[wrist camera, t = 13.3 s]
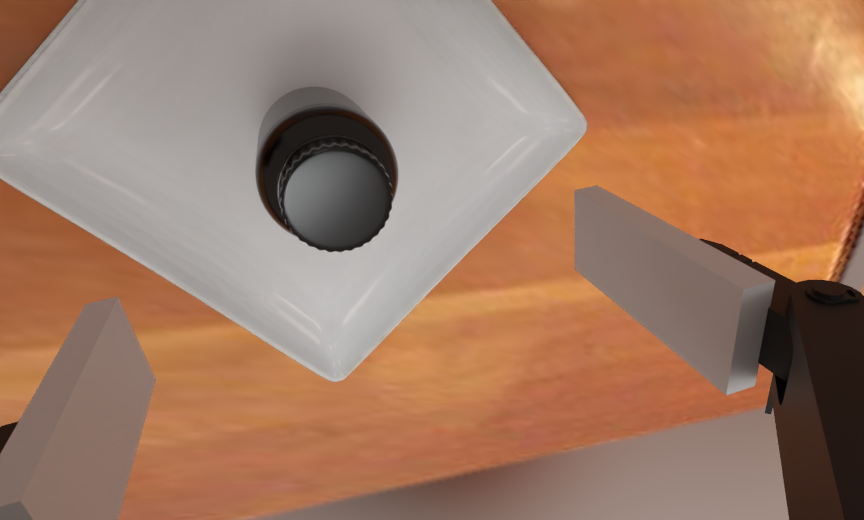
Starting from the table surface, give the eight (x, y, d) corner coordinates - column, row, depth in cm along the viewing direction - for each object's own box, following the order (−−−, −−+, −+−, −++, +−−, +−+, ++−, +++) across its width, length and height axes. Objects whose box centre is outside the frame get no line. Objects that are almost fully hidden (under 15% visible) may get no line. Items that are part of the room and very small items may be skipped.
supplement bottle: (392, 128, 34) (449, 182, 24) (331, 214, 35) (359, 302, 25) (297, 58, 31) (315, 84, 20) (234, 155, 32) (220, 227, 22)
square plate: (285, -242, 28) (287, -276, 25) (570, 119, 41) (597, 129, 38) (-21, 138, 32) (-55, 154, 28) (332, 363, 45) (338, 392, 41)
